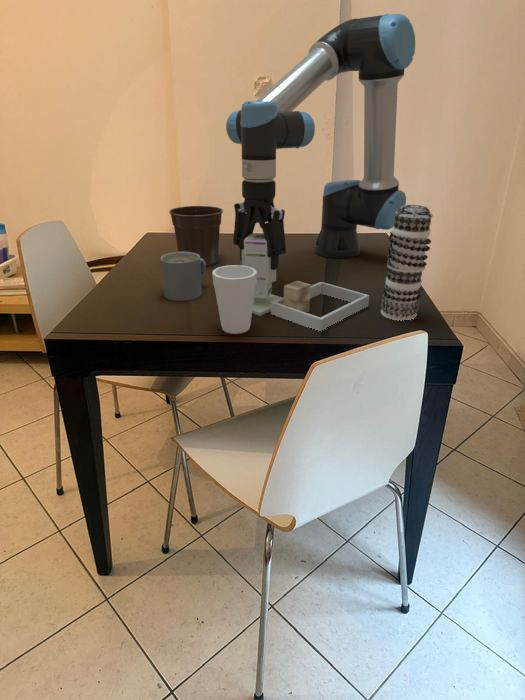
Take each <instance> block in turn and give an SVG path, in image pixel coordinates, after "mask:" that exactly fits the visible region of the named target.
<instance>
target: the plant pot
mask: <svg viewBox="0 0 525 700" xmlns="http://www.w3.org/2000/svg"><path fill="white" fill-rule="evenodd" d="M168 212H169V214H170V217H171V223H172V225H173V227H174V234H175V240H176V245H177V252H192V253H196V254H198V255H199V256H200V258H202V259H203V260H204V261H205V263H206V267H209V266H212V265H216V264H217V263H218V262H219V246H220V243H219V242H220V230H221V228H220V227H221V224H222V216H223V215H222V214H223V213H224V209H222V208H220V207H217V206H212V205H210V206H209V205H187V206H185V205H184V206H179V207H174V208H172V209H169V211H168Z"/></svg>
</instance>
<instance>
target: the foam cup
mask: <svg viewBox="0 0 525 700" xmlns="http://www.w3.org/2000/svg"><path fill="white" fill-rule="evenodd" d="M256 284H257V272H256V270H255V269H254V268H252V267H248V266H242V264H239V265H238V264H233V265H232V264H231V265H223V266H219V267H216V268H215V269H213V270H212V285H213V287H214V291H215V296H216V298H215V299H216V304H217V308H218V314H219V320H220V321H219V322H220V325H221V330H222V331H224V333H227V334H233V335H235V334H236V335H238V334H243V333H246V332H248V331H249V330H250V329H251V328H250V327H251V322H252V314H253V313H252V309H253V302H254V294H255V286H256Z"/></svg>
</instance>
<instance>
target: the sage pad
mask: <svg viewBox="0 0 525 700" xmlns="http://www.w3.org/2000/svg"><path fill="white" fill-rule="evenodd" d="M281 298H283V297H281V296H278V295H275V294H272V293H270V295H269V296H268V298H267V299H266V298H254V302H253V309H252V314H255V315H256V316H259V317H261V316H264V315H265V313H266V314H268V313H269V312H270V313H271V302H273V301H276V300H278V299H281Z"/></svg>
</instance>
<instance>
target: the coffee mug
mask: <svg viewBox="0 0 525 700" xmlns="http://www.w3.org/2000/svg"><path fill="white" fill-rule="evenodd" d="M160 269H161V276H162V277H161V278H162V279H161V280H162V288H163V296H164V298H165V299H167V300H170V301H175V302H187V301H193V300H196V299H198V298H200V297H201V296H202V295H203V286H202V285H203V283H202V280H203V279H204V278H205V276H206V273H207V266H206V263H205V261H204V260H203V259H202V258H200V256H199V255H198V254H196V253H192V252H178V251H174V252H168V253H166V254H165V253H164V254H163V255H161V257H160Z"/></svg>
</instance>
